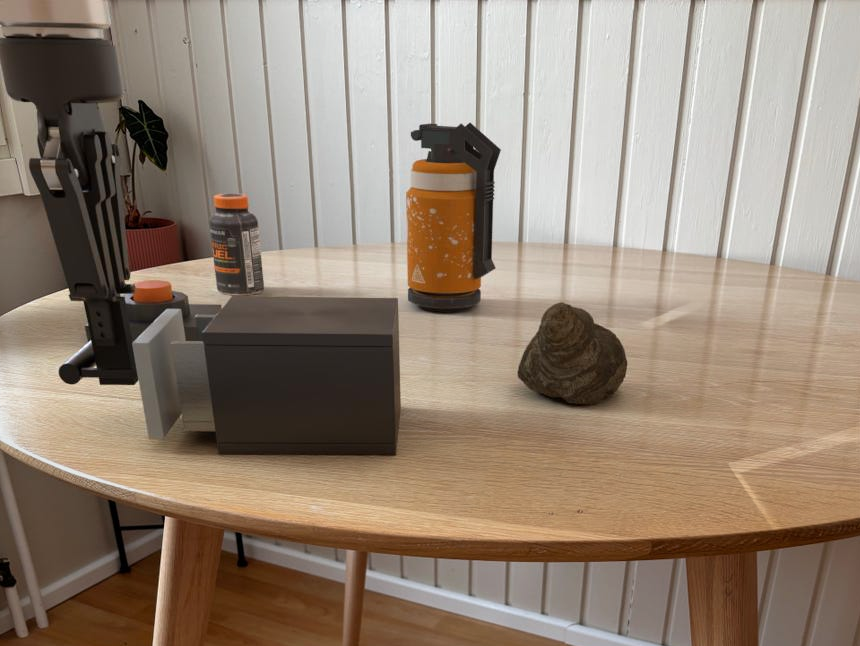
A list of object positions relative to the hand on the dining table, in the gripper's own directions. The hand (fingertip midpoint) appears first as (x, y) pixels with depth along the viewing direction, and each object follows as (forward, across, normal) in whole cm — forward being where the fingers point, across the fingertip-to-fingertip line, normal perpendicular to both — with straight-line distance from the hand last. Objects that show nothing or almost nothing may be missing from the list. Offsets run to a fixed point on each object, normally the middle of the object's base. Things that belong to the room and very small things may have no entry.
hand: (119, 381), depth 76 cm
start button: (0, +29, +4) cm, 29 cm away
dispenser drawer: (+3, 0, -6) cm, 7 cm away
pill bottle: (+4, +51, -1) cm, 51 cm away
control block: (+4, +29, +4) cm, 29 cm away
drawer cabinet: (+4, 0, -15) cm, 16 cm away
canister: (+4, +44, -28) cm, 52 cm away
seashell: (+4, +11, -40) cm, 41 cm away
